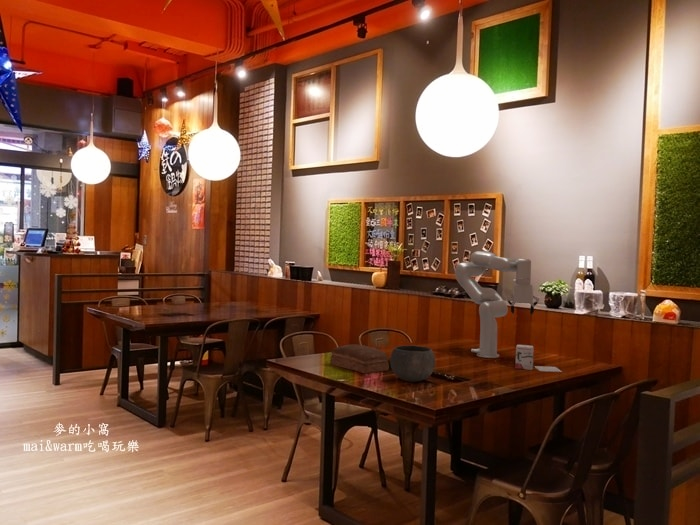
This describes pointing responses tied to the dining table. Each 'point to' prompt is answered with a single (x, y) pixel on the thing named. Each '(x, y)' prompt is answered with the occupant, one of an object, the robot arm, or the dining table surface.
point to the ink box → (524, 357)
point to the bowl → (412, 362)
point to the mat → (547, 369)
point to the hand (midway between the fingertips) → (522, 313)
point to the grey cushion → (360, 358)
